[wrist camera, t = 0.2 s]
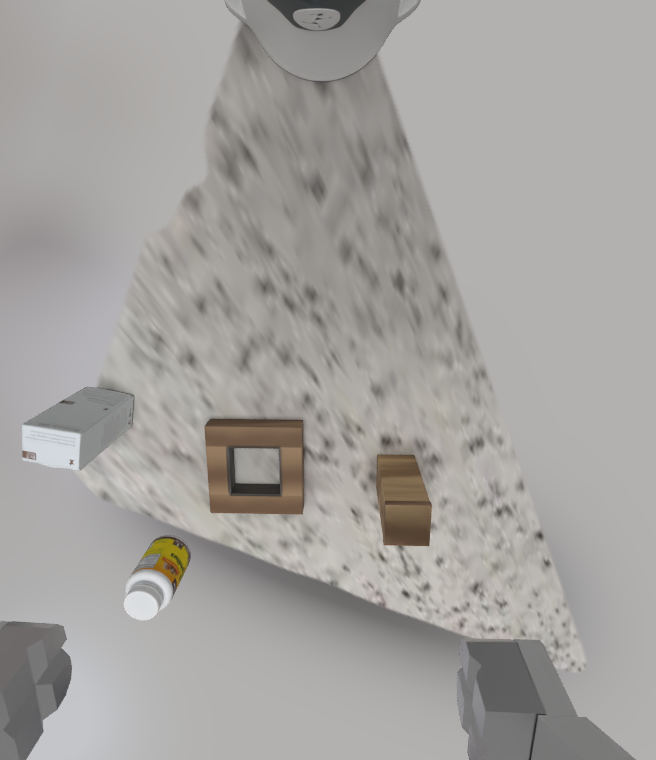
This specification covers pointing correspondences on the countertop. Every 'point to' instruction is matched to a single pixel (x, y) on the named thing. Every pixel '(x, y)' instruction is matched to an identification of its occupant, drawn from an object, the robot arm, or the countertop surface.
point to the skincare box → (77, 428)
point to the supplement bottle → (156, 577)
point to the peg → (402, 501)
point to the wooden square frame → (255, 496)
